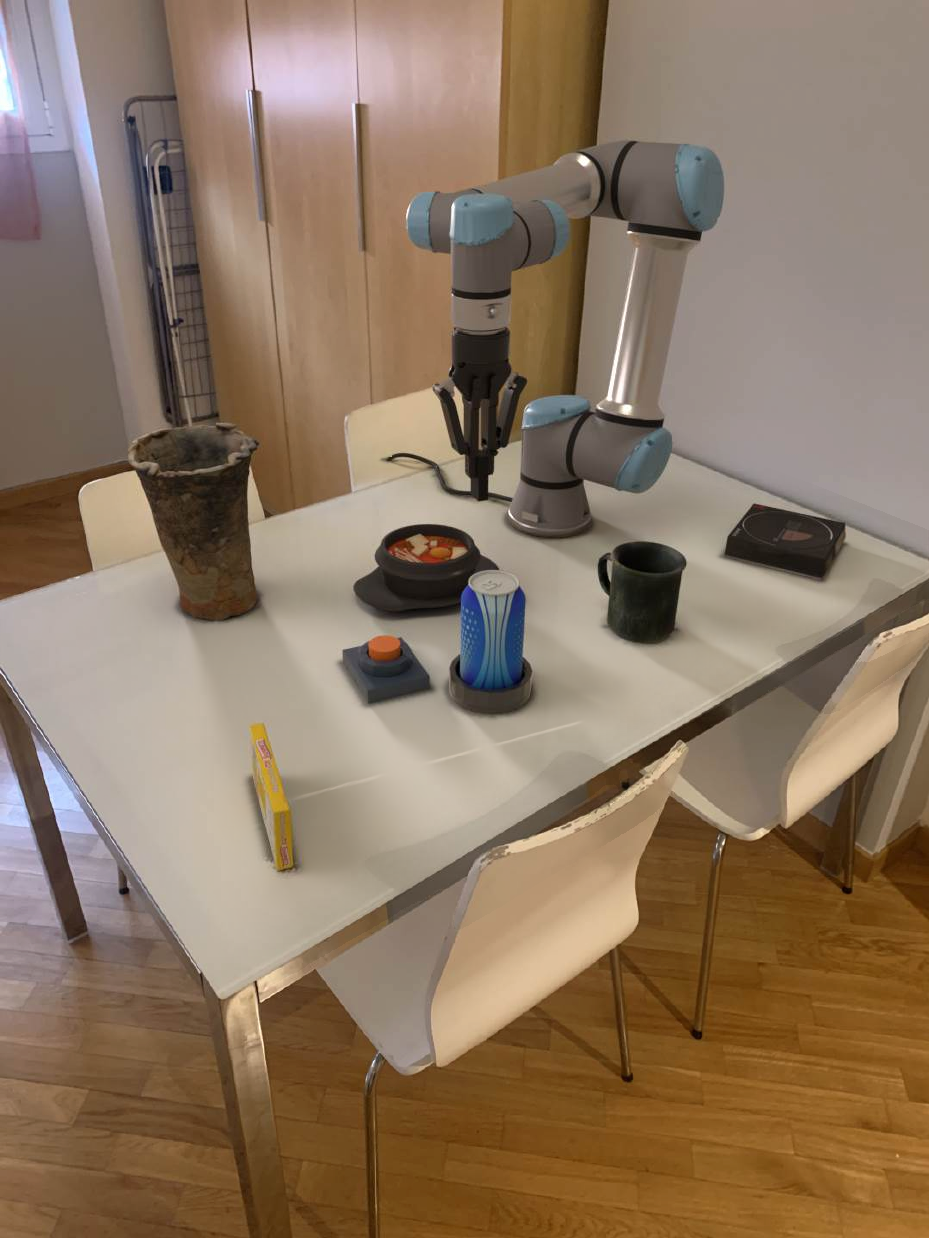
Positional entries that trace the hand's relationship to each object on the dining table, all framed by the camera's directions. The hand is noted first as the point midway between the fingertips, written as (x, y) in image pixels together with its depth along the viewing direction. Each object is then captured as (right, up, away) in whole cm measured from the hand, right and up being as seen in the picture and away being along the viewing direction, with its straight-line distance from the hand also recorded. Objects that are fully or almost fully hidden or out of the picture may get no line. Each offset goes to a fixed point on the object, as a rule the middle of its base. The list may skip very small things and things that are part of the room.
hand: (479, 496), depth 137 cm
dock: (+1, -27, -2) cm, 27 cm away
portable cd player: (+55, -5, +37) cm, 66 cm away
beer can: (+2, -26, -2) cm, 26 cm away
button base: (-13, -25, +1) cm, 28 cm away
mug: (+24, -18, +14) cm, 33 cm away
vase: (-42, -15, +18) cm, 48 cm away
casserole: (-8, -12, +23) cm, 27 cm away
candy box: (-24, -40, -25) cm, 53 cm away
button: (-13, -22, -1) cm, 26 cm away
